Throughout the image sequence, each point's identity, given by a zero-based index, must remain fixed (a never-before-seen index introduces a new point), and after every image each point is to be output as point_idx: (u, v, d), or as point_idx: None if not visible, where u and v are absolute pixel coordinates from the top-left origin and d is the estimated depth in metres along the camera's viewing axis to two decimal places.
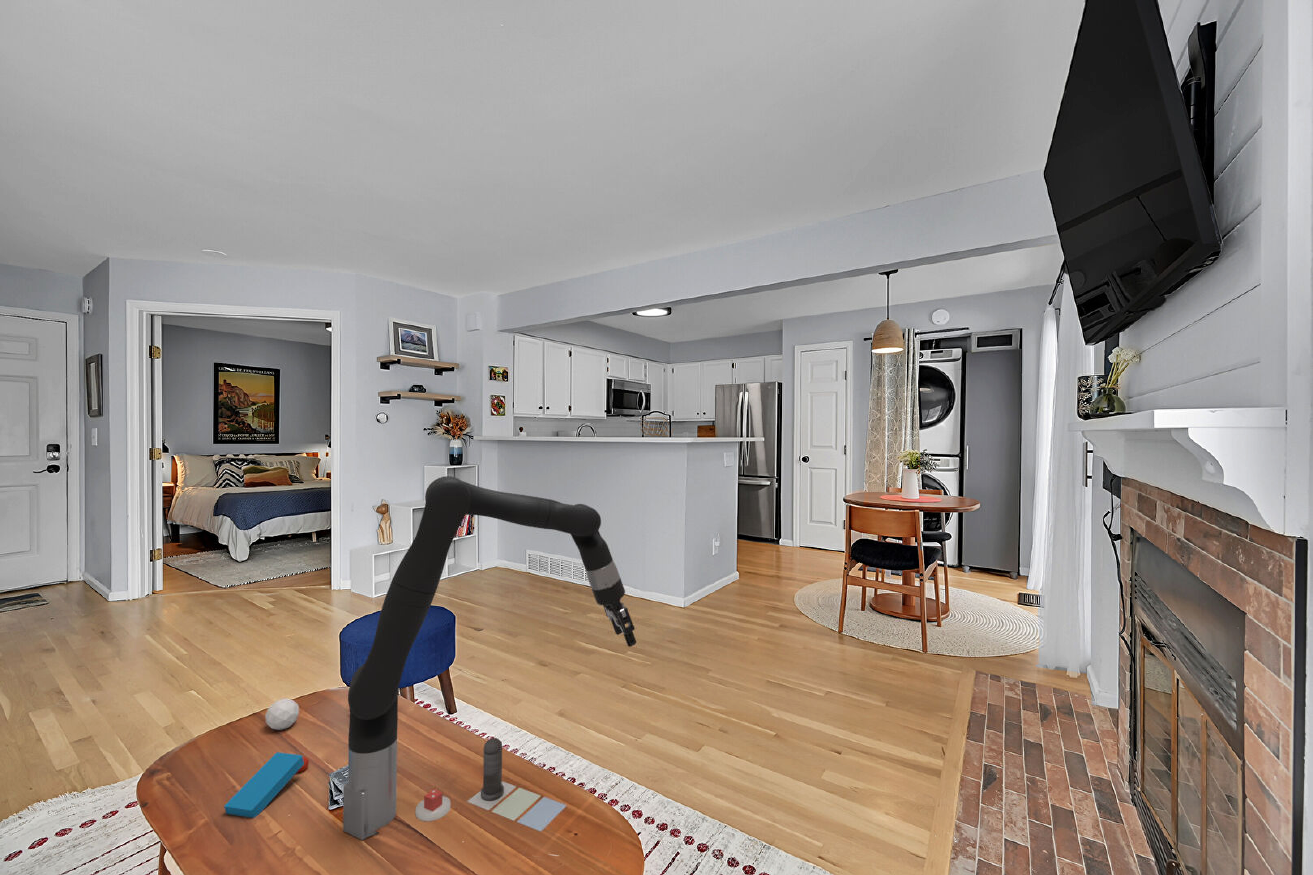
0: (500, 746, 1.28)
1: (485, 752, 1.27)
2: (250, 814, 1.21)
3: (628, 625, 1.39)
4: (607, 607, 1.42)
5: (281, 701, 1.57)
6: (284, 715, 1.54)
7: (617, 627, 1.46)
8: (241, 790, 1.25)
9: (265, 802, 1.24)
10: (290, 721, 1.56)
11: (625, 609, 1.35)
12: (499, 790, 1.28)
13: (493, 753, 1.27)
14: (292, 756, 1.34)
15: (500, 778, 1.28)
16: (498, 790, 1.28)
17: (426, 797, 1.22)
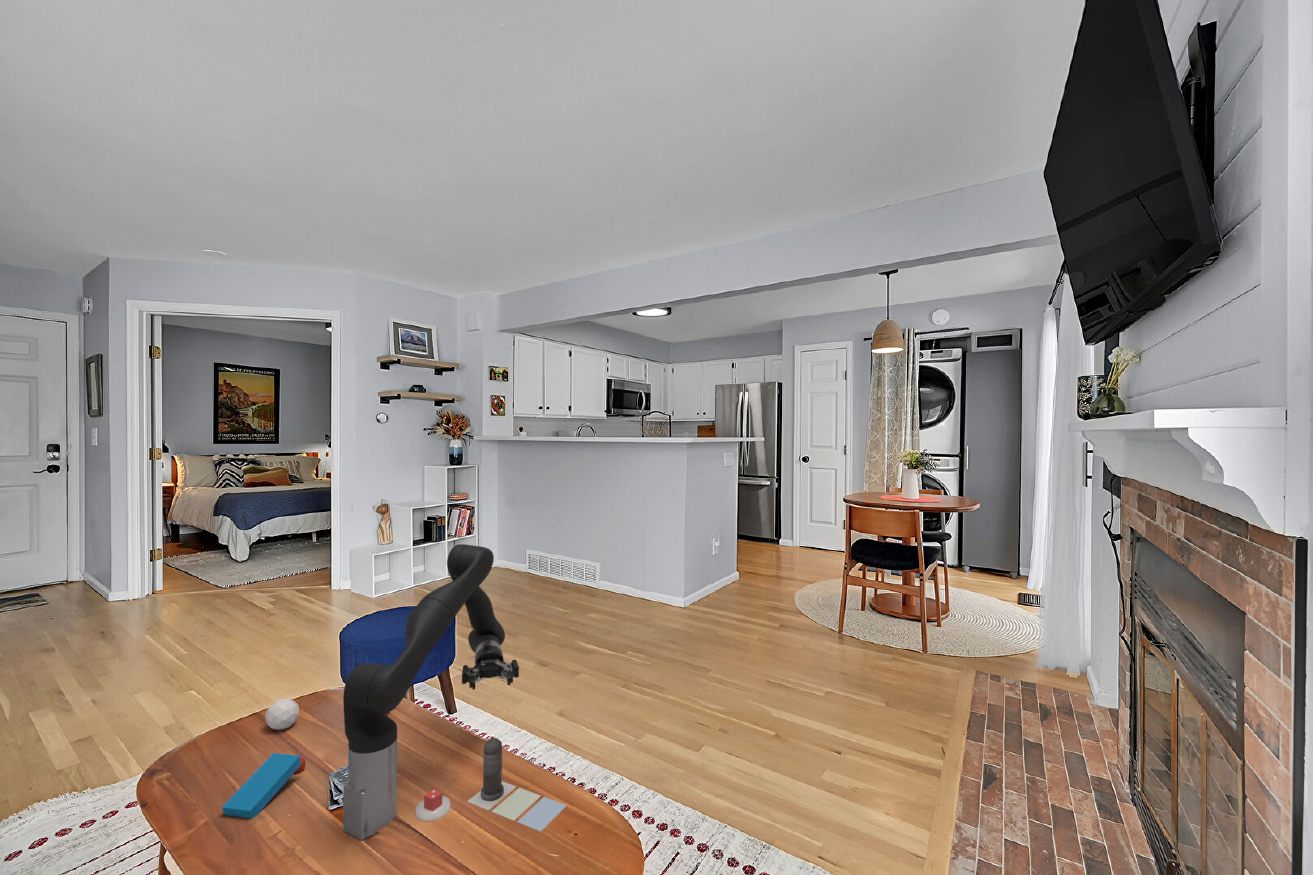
0: (500, 746, 1.28)
1: (485, 752, 1.27)
2: (249, 814, 1.21)
3: (507, 676, 1.49)
4: None
5: (281, 701, 1.57)
6: (284, 715, 1.54)
7: None
8: (239, 791, 1.25)
9: (264, 802, 1.24)
10: (290, 721, 1.56)
11: None
12: (499, 790, 1.28)
13: (493, 753, 1.27)
14: (289, 756, 1.34)
15: (500, 778, 1.28)
16: (498, 790, 1.28)
17: (426, 797, 1.22)
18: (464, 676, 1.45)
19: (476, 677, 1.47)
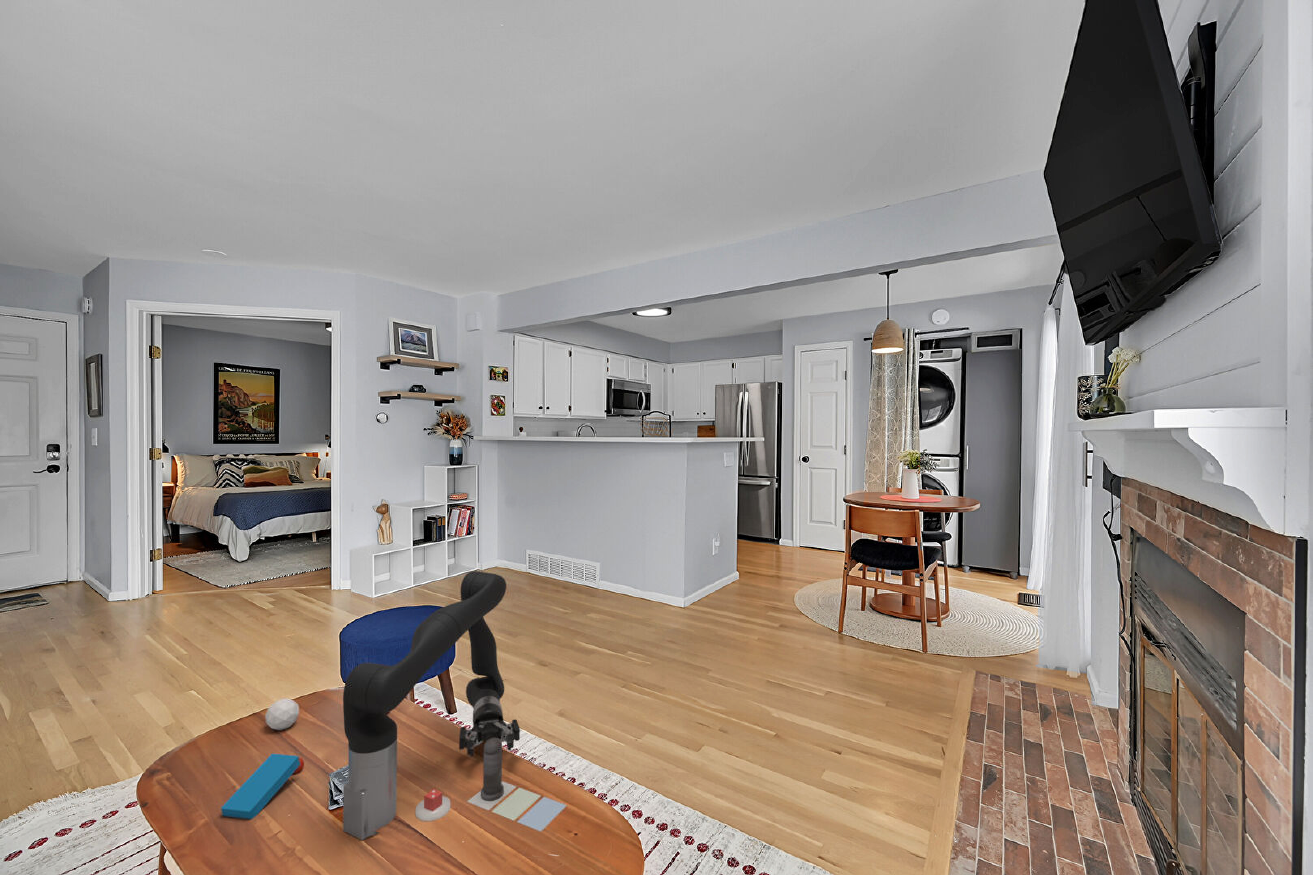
0: (500, 746, 1.28)
1: (485, 752, 1.27)
2: (248, 815, 1.21)
3: (507, 739, 1.41)
4: None
5: (281, 701, 1.57)
6: (284, 715, 1.54)
7: None
8: (237, 792, 1.25)
9: (263, 803, 1.24)
10: (290, 721, 1.56)
11: None
12: (499, 790, 1.28)
13: (493, 753, 1.27)
14: (288, 757, 1.34)
15: (500, 778, 1.28)
16: (498, 790, 1.28)
17: (426, 797, 1.22)
18: (461, 740, 1.37)
19: (474, 741, 1.39)
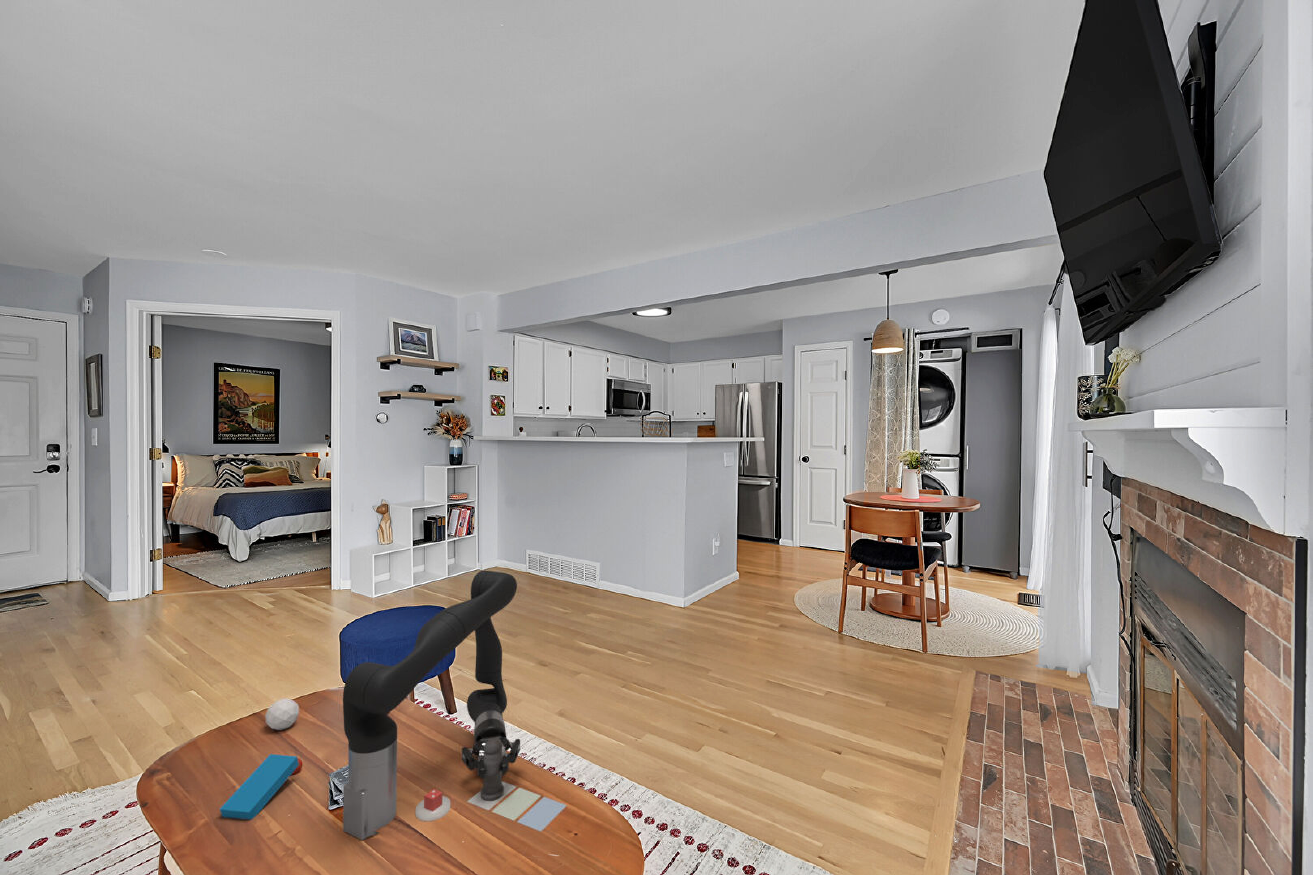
0: (500, 746, 1.28)
1: (485, 752, 1.27)
2: (247, 816, 1.21)
3: None
4: None
5: (281, 701, 1.57)
6: (284, 715, 1.54)
7: None
8: (236, 793, 1.25)
9: (262, 804, 1.24)
10: (290, 721, 1.56)
11: None
12: (499, 790, 1.28)
13: (493, 753, 1.27)
14: (287, 757, 1.33)
15: (500, 778, 1.28)
16: (498, 790, 1.28)
17: (426, 797, 1.22)
18: (471, 761, 1.29)
19: None
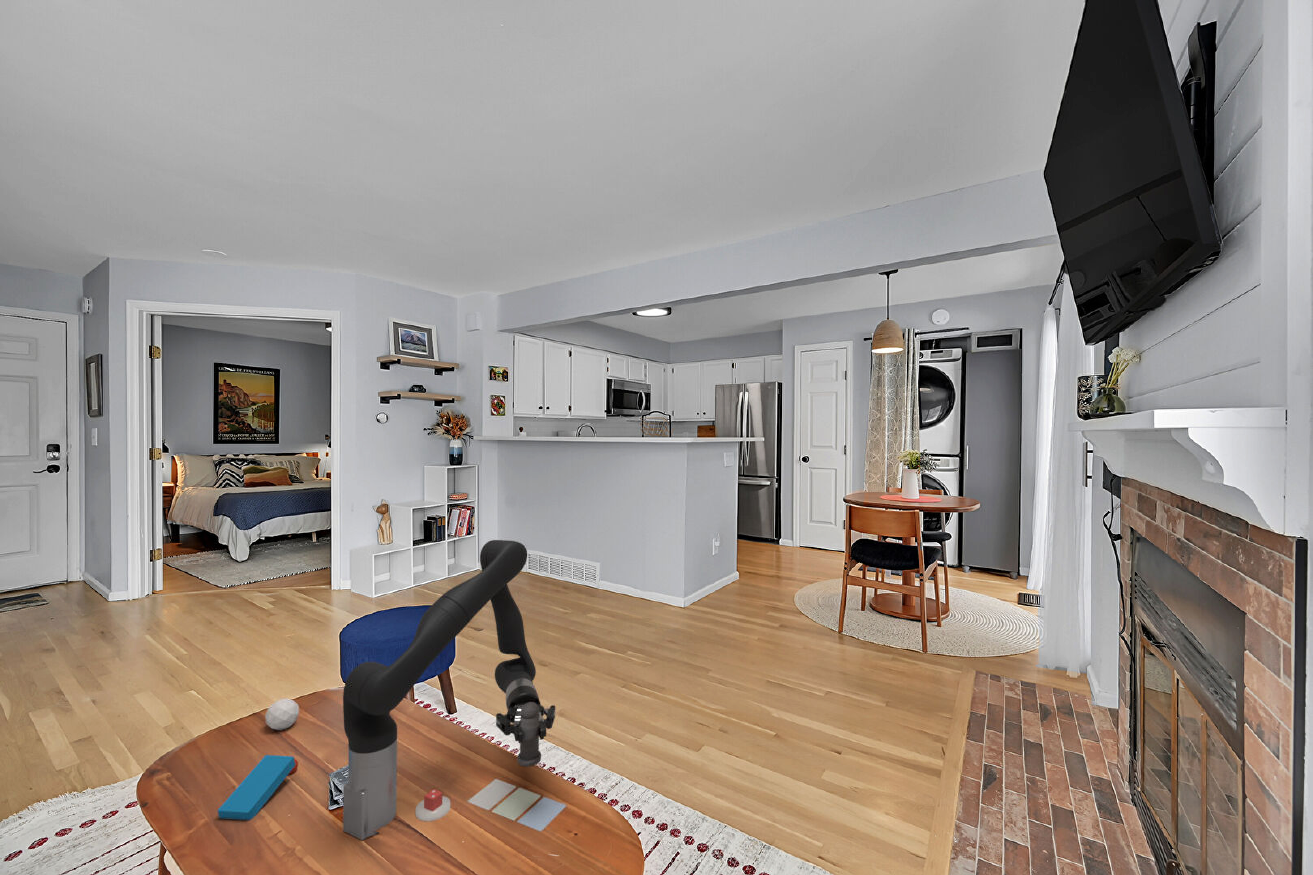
0: (538, 710, 1.24)
1: (522, 716, 1.23)
2: (246, 816, 1.20)
3: None
4: None
5: (281, 701, 1.57)
6: (284, 715, 1.54)
7: None
8: (233, 794, 1.24)
9: (261, 804, 1.24)
10: (290, 721, 1.56)
11: None
12: (537, 756, 1.24)
13: (531, 717, 1.22)
14: (283, 758, 1.33)
15: (537, 743, 1.24)
16: (536, 756, 1.23)
17: (426, 797, 1.22)
18: (507, 726, 1.25)
19: None
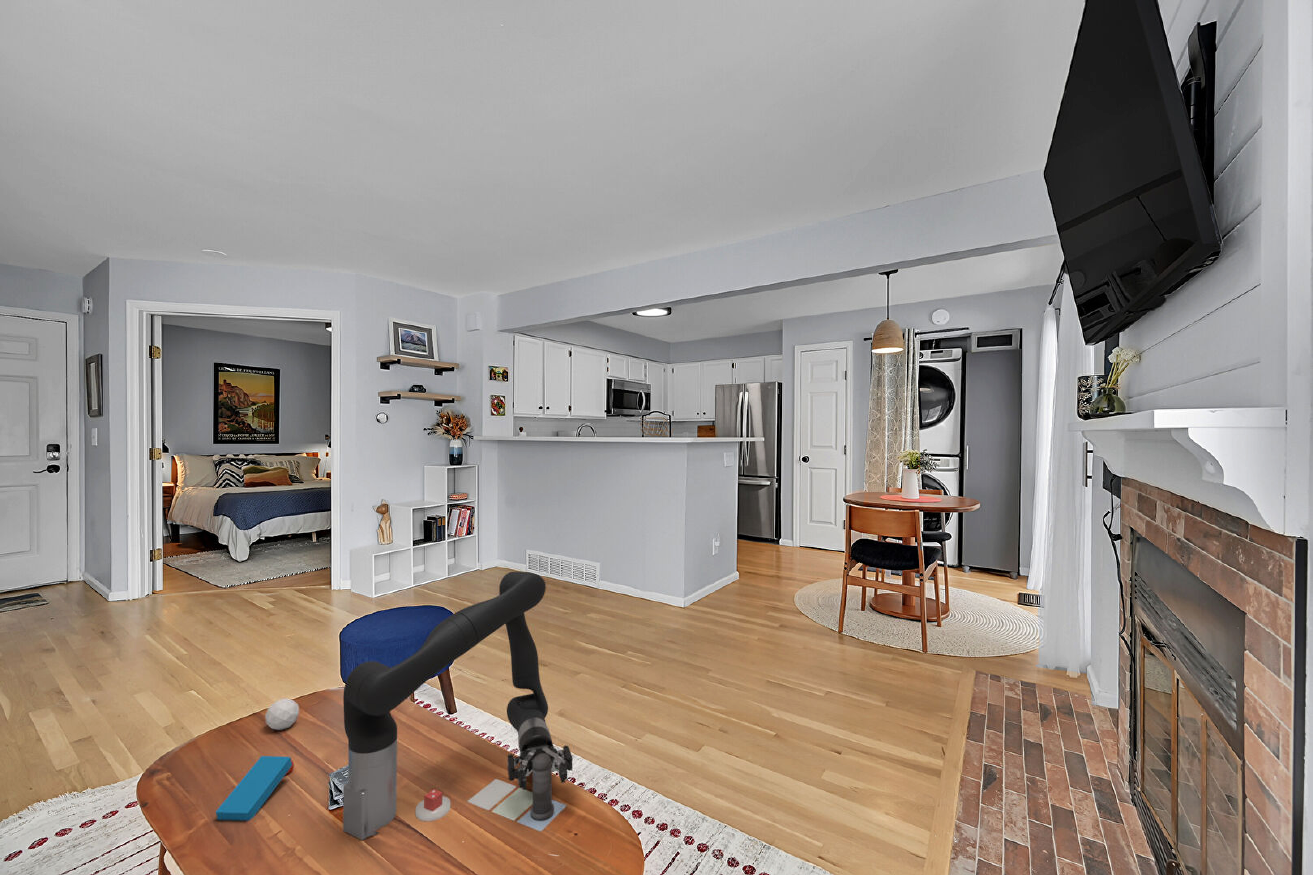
0: (549, 762, 1.22)
1: (534, 769, 1.21)
2: (246, 817, 1.20)
3: (559, 769, 1.26)
4: None
5: (281, 701, 1.57)
6: (284, 715, 1.54)
7: None
8: (231, 795, 1.24)
9: (259, 804, 1.23)
10: (290, 721, 1.56)
11: None
12: (550, 809, 1.22)
13: (543, 769, 1.21)
14: (279, 758, 1.33)
15: (550, 796, 1.22)
16: (549, 809, 1.21)
17: (426, 797, 1.22)
18: (511, 771, 1.23)
19: (525, 771, 1.25)
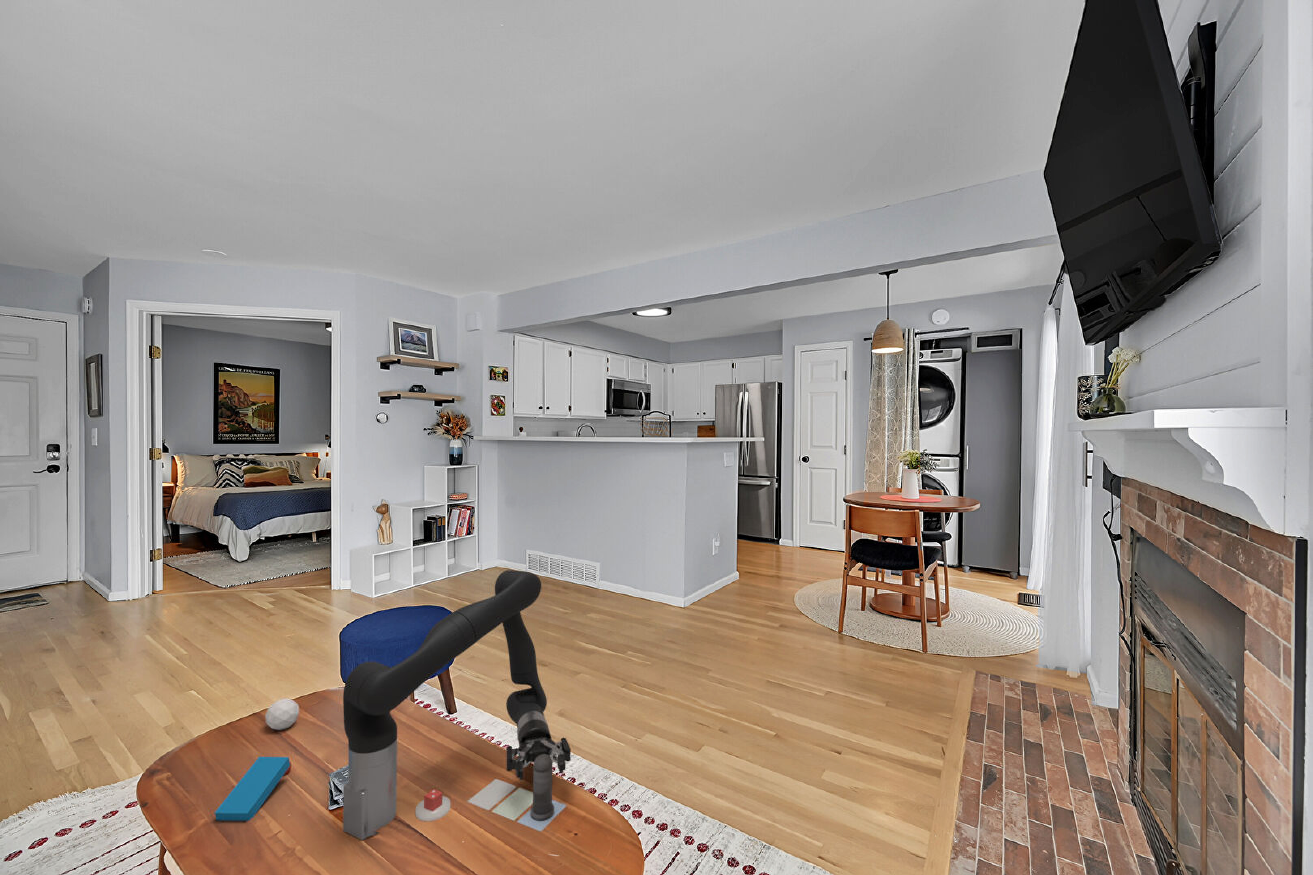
0: (551, 763, 1.22)
1: (535, 769, 1.21)
2: (245, 817, 1.20)
3: (557, 760, 1.30)
4: None
5: (281, 701, 1.57)
6: (284, 715, 1.54)
7: None
8: (230, 796, 1.23)
9: (259, 804, 1.23)
10: (290, 721, 1.56)
11: None
12: (550, 809, 1.22)
13: (544, 770, 1.21)
14: (278, 759, 1.33)
15: (551, 797, 1.22)
16: (549, 809, 1.21)
17: (426, 797, 1.22)
18: (509, 762, 1.26)
19: (522, 762, 1.28)
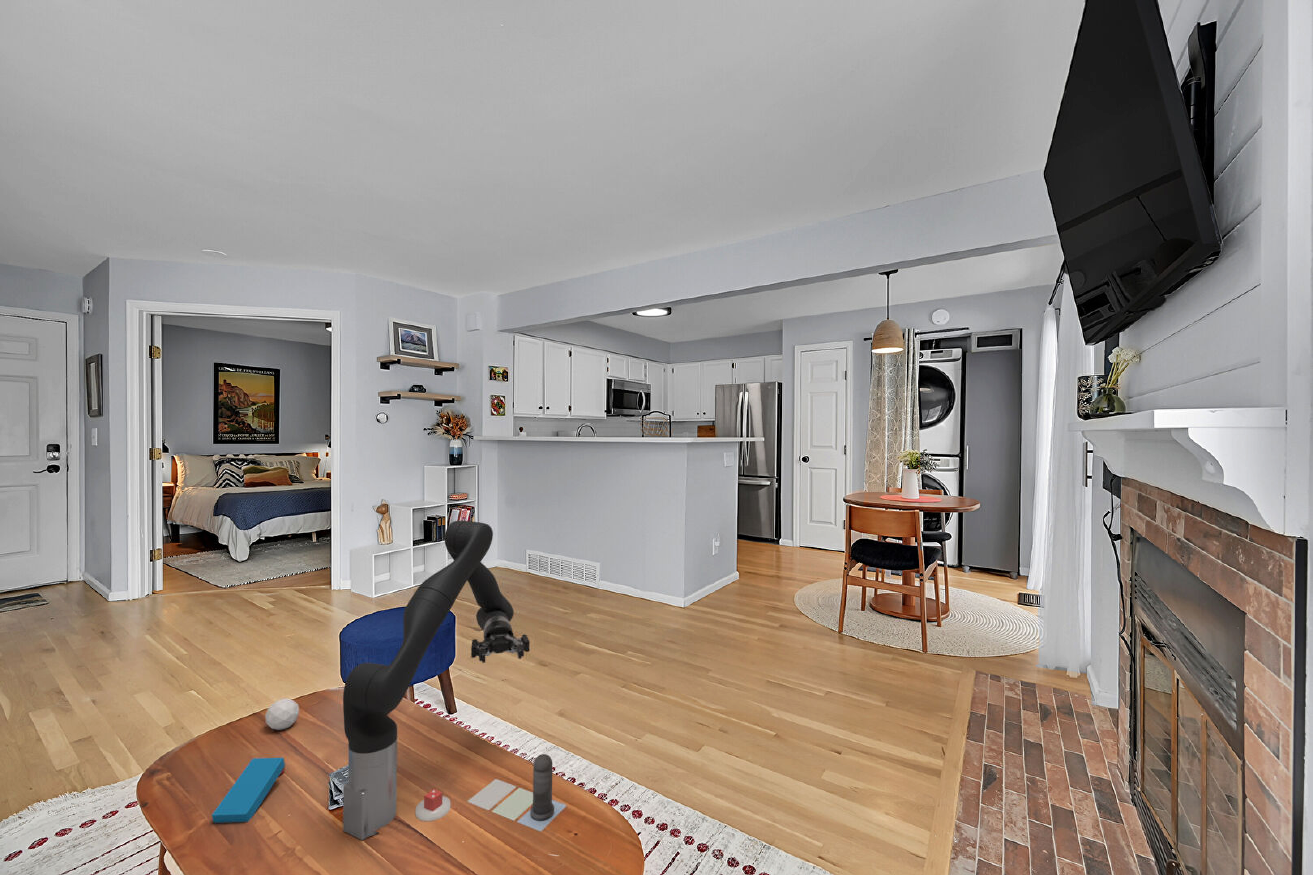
0: (551, 763, 1.22)
1: (535, 769, 1.21)
2: (244, 818, 1.20)
3: (517, 650, 1.45)
4: None
5: (281, 701, 1.57)
6: (284, 715, 1.54)
7: None
8: (226, 798, 1.23)
9: (256, 805, 1.23)
10: (290, 721, 1.56)
11: None
12: (550, 809, 1.22)
13: (544, 770, 1.21)
14: (272, 760, 1.32)
15: (551, 797, 1.22)
16: (549, 809, 1.21)
17: (426, 797, 1.22)
18: (473, 649, 1.41)
19: (486, 651, 1.43)
